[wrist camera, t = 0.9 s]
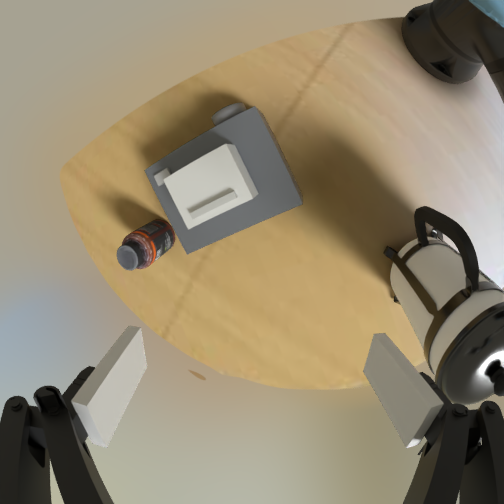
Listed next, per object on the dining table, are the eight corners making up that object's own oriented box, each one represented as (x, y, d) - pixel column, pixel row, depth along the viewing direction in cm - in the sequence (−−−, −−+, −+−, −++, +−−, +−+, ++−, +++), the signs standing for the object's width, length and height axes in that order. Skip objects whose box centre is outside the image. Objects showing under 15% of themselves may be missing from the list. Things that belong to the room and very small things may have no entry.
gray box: (256, 101, 37) (246, 90, 30) (302, 196, 40) (302, 204, 33) (160, 155, 42) (136, 157, 35) (203, 239, 46) (185, 255, 39)
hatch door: (234, 144, 32) (224, 143, 28) (258, 193, 34) (252, 199, 30) (177, 176, 35) (160, 180, 31) (199, 221, 37) (186, 231, 32)
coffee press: (467, 245, 37) (573, 339, 9) (419, 314, 43) (480, 443, 16) (400, 192, 37) (534, 268, 9) (350, 275, 43) (391, 431, 16)
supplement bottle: (143, 222, 47) (106, 241, 36) (170, 215, 45) (135, 234, 35) (153, 253, 49) (119, 278, 38) (180, 248, 47) (148, 274, 37)
